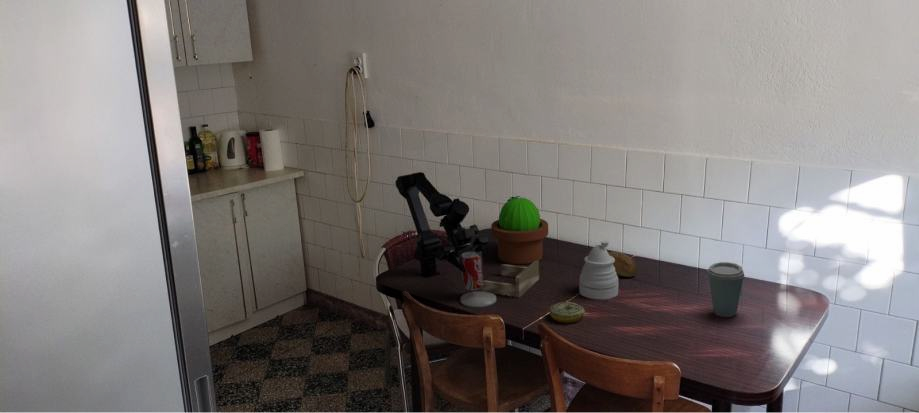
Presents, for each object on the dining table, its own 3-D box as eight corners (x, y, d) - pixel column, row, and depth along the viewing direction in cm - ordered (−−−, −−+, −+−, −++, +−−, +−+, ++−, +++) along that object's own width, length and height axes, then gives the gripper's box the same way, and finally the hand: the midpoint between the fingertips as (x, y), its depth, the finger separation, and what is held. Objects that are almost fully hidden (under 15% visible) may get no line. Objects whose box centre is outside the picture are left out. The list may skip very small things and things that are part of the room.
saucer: (453, 299, 234) (453, 297, 234) (482, 290, 240) (482, 288, 240) (474, 310, 224) (474, 308, 224) (503, 300, 231) (503, 298, 230)
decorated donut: (590, 316, 216) (590, 304, 215) (571, 327, 209) (571, 316, 208) (562, 308, 223) (562, 297, 222) (543, 318, 216) (543, 307, 215)
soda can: (475, 293, 230) (471, 259, 226) (459, 289, 234) (454, 256, 231) (488, 285, 235) (484, 252, 231) (472, 281, 239) (468, 249, 236)
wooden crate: (481, 291, 239) (480, 272, 237) (502, 274, 255) (502, 256, 253) (519, 297, 233) (518, 277, 231) (539, 279, 248) (538, 260, 247)
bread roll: (629, 282, 242) (629, 260, 239) (591, 273, 251) (591, 253, 249) (642, 274, 248) (642, 253, 246) (605, 266, 258) (605, 245, 256)
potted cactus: (551, 265, 261) (550, 201, 255) (493, 268, 262) (491, 204, 255) (545, 247, 282) (544, 187, 276) (491, 249, 283) (489, 190, 276)
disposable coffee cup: (738, 322, 206) (741, 275, 202) (701, 316, 212) (703, 270, 208) (745, 309, 215) (748, 264, 211) (709, 303, 220) (711, 259, 216)
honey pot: (621, 287, 237) (622, 237, 233) (613, 301, 226) (613, 249, 221) (585, 283, 243) (584, 234, 238) (574, 296, 231) (574, 245, 227)
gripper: (438, 223, 227) (458, 264, 220) (485, 213, 236) (505, 251, 230) (427, 240, 235) (446, 280, 229) (473, 229, 245) (492, 267, 238)
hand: (473, 269), depth 231 cm, fingers closed on soda can, 7 cm apart
